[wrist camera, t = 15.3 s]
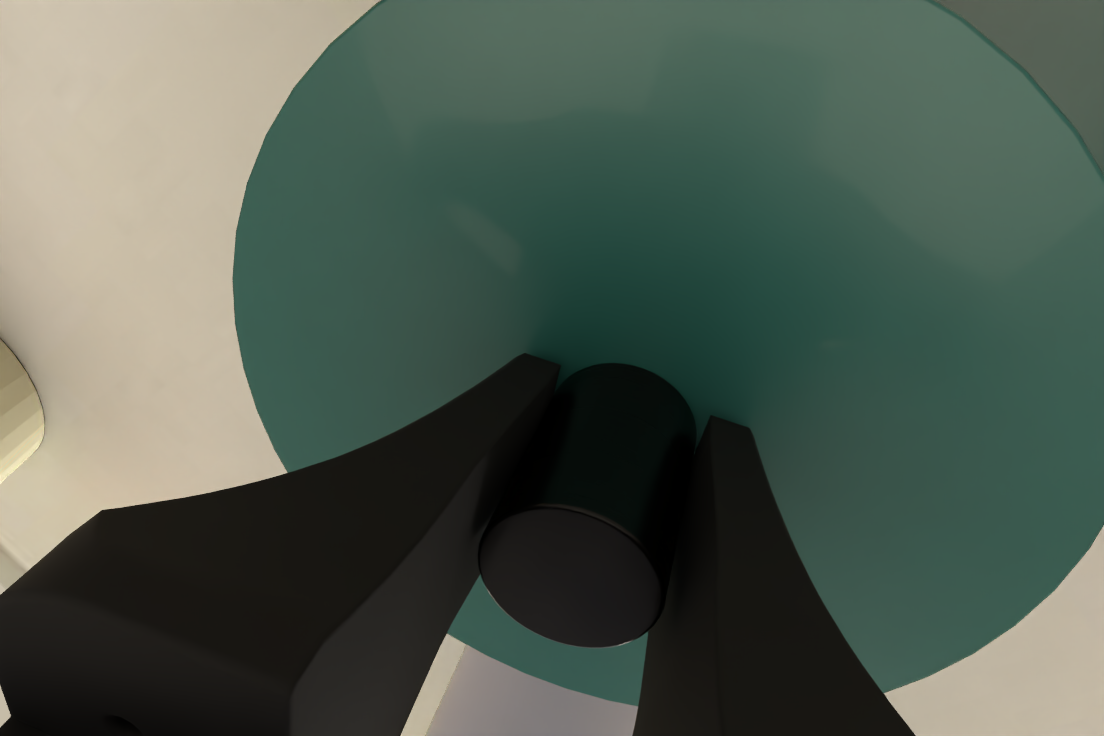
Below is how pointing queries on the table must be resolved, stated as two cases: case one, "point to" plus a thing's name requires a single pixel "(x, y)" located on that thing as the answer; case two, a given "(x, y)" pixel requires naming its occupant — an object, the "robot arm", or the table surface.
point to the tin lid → (699, 301)
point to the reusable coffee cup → (17, 414)
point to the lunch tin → (1052, 52)
